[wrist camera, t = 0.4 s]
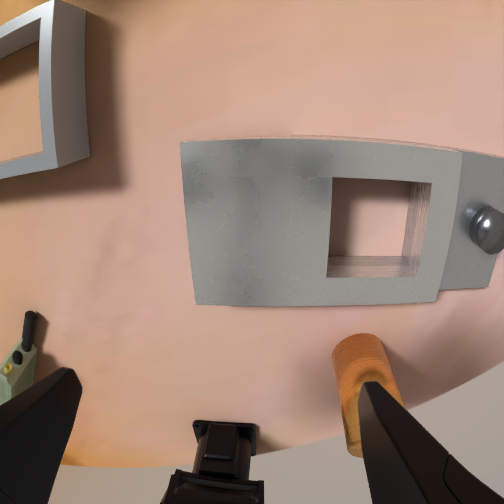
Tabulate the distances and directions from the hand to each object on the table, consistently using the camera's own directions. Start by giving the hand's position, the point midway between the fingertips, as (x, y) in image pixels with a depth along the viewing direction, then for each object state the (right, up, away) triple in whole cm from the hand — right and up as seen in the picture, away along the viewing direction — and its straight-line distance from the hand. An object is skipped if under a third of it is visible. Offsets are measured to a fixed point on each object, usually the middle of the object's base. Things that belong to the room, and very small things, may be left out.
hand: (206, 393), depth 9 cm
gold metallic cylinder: (+10, -4, +16) cm, 20 cm away
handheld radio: (-27, -11, +22) cm, 36 cm away
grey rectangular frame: (-20, +16, +9) cm, 27 cm away
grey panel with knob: (+9, +7, +12) cm, 16 cm away
